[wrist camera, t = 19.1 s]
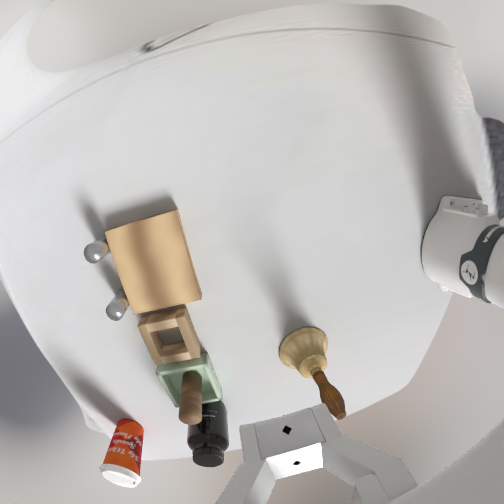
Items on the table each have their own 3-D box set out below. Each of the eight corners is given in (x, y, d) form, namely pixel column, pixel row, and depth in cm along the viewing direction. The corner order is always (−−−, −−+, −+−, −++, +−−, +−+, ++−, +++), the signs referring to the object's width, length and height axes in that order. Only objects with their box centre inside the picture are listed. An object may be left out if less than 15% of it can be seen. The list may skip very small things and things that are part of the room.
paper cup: (148, 420, 43) (138, 476, 29) (149, 440, 44) (141, 491, 31) (110, 411, 41) (94, 464, 28) (114, 432, 43) (102, 481, 29)
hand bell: (295, 320, 40) (334, 389, 25) (336, 334, 42) (382, 397, 27) (269, 360, 42) (293, 435, 26) (310, 372, 44) (343, 439, 28)
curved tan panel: (178, 208, 34) (175, 210, 32) (201, 292, 38) (201, 299, 35) (111, 228, 34) (104, 231, 31) (138, 306, 37) (133, 314, 35)
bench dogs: (111, 233, 33) (96, 242, 29) (134, 302, 36) (125, 318, 31) (96, 238, 33) (81, 247, 28) (120, 305, 36) (110, 322, 31)
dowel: (198, 369, 40) (197, 409, 31) (204, 383, 41) (204, 423, 32) (179, 372, 39) (175, 412, 31) (186, 385, 40) (183, 425, 32)
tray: (207, 352, 40) (206, 363, 37) (221, 388, 42) (222, 399, 39) (158, 361, 39) (155, 372, 36) (176, 395, 41) (175, 407, 39)
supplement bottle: (209, 392, 42) (210, 445, 30) (233, 410, 44) (240, 461, 32) (181, 407, 42) (177, 458, 31) (206, 424, 44) (207, 473, 33)
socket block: (186, 306, 37) (184, 316, 35) (200, 345, 39) (200, 357, 36) (142, 316, 37) (137, 326, 34) (158, 353, 39) (155, 365, 36)
